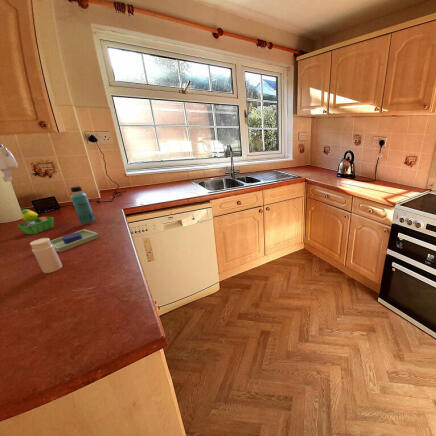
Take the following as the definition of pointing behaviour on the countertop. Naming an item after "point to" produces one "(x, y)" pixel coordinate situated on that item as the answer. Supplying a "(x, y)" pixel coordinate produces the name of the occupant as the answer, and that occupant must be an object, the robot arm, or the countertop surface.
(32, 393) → the countertop surface
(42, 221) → the fruit basket
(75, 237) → the jar lid
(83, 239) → the serving tray
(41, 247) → the jam jar
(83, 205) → the beverage bottle
